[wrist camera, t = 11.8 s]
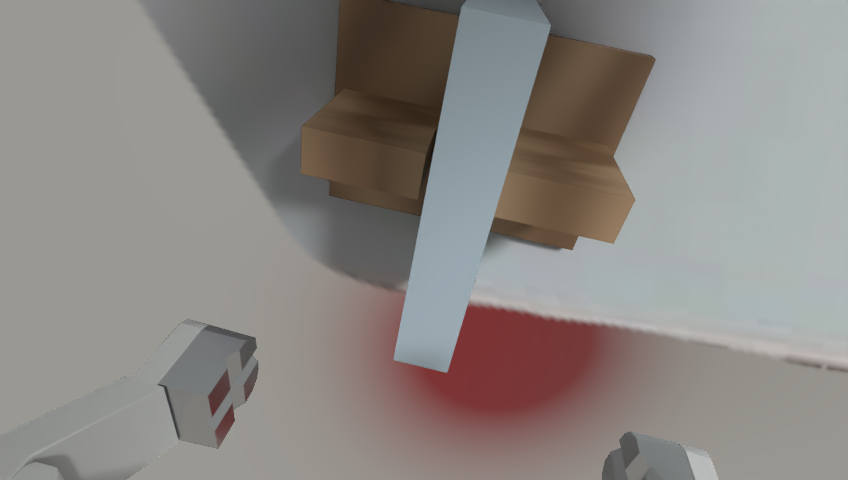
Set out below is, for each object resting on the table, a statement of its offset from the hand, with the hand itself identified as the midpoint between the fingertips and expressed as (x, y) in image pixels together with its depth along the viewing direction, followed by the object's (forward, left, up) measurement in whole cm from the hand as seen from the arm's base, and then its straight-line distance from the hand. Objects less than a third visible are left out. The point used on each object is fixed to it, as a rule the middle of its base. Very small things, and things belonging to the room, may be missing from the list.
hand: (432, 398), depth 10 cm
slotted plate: (0, 0, -17) cm, 17 cm away
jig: (0, 0, -18) cm, 18 cm away
